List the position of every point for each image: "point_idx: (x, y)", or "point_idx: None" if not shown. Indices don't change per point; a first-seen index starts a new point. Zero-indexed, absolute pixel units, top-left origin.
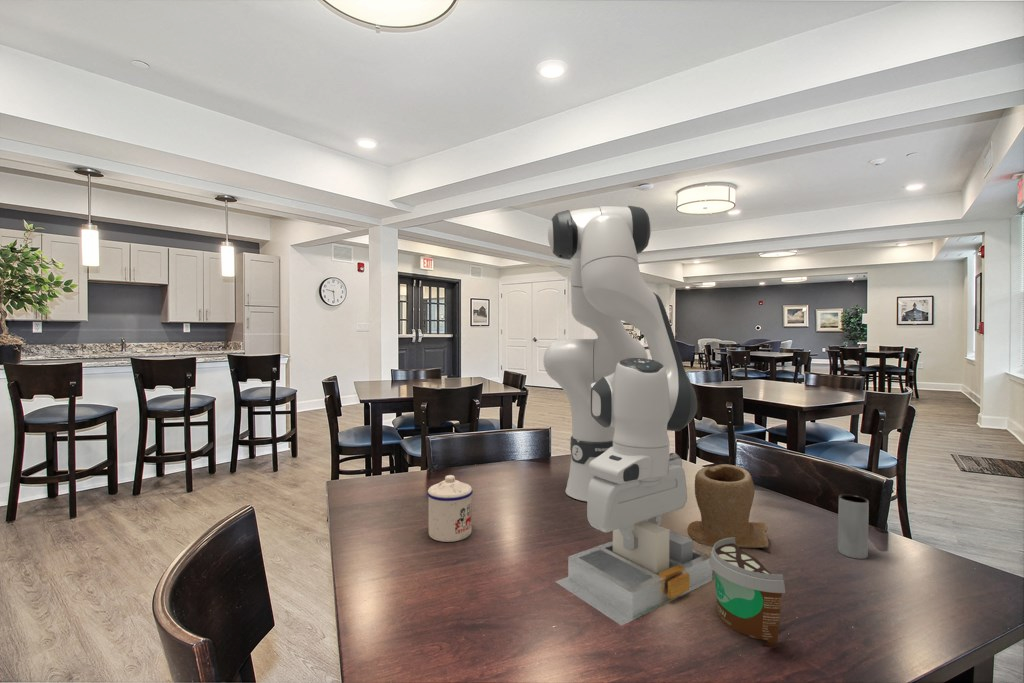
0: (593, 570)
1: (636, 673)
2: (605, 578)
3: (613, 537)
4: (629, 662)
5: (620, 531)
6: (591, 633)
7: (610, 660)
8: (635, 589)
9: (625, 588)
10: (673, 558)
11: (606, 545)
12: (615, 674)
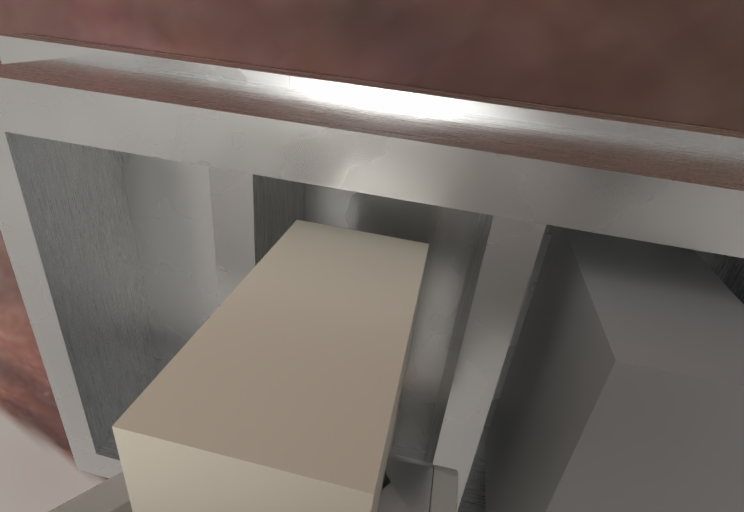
0: (22, 287)
1: (53, 445)
2: (45, 356)
3: (253, 276)
4: (59, 425)
5: (76, 500)
6: (27, 318)
7: (22, 395)
8: (104, 468)
9: (72, 443)
10: (496, 497)
11: (299, 156)
12: (11, 418)
